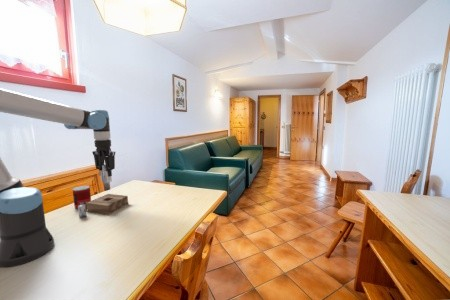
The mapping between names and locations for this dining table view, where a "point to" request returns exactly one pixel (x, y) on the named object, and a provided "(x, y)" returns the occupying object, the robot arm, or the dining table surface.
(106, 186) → the long pin
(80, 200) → the canned food
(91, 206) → the hole block
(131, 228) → the dining table surface
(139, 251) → the dining table surface
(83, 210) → the short pin
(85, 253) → the dining table surface
